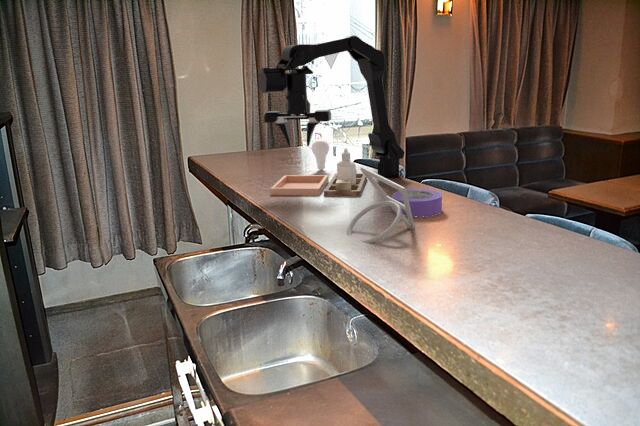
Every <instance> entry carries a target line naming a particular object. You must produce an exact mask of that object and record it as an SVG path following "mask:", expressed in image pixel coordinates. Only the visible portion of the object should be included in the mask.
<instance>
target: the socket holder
mask: <svg viewBox="0 0 640 426" xmlns="http://www.w3.org/2000/svg"><path fill="white" fill-rule="evenodd" d="M367 180H368V178H367V177H366V176H365V175H364V174H363V172H362V173H361V172H357V178H356V185H351V189H352V190H336V181H337V172H336V173H334V174H333V176H332V177H331V180H329V183H328V184H327V186H326V187H325V188H324V190H323V197H361V196H362V192H363V190H364V188H365V186H366V182H367Z"/></svg>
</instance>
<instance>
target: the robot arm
mask: <svg viewBox="0 0 640 426" xmlns="http://www.w3.org/2000/svg"><path fill="white" fill-rule="evenodd" d="M343 52H348V54H349V55H350V57H351V58H352V59H353V60H354V61H355V62H357V65H358V68H359V71H360V72H359V73H360V74H361V75H362V77H363V79H364V80H365V81H366V88H367V95H368V99H369V106H370V113H371V119H372V124H373V126H372V127H373V129H372V131H371V132H369V133H368V134H367V137H368V139H369V140H368V141H369V145H368V146H371V150H372V151H374V153H375V157H379V158H378V159H379V161H377V174H378V175H380V176H382V177H384V178H386V179H400V177H401V174H400V159H401V160H402V159H404V156H405V153H406V152H405V151H404V149H402V147H401V146H400V145H399V144H398V141H397V140H398V139H397V137H396V134H395V132H394V131H393V129H392V127H391V125H390V123H389V116H388V110H387V109H388V108H387V103H386V102H387V101H386V94H385V88H384V83H383V79H384V75H385V71H386V56H385V54H384V52H383V51H382V50H380V49H377V48H375V47H374V46H372V45H370V44H369V43H368V42H365V41H363V40H362V39H361V38H360V37H358V35H347V36H344V37H341V38H337V39H332V40H328V41H322V42H319V43H314V44H313V43H312V44H308V43H307V44H305V43H304V44H303V43H301V44H291V45H286V46H285V47H284V48H283V50H282V53H281V58H280V60H279V61H278V63H276V66H275V67H261V68H260V74H259V79H258V88H259V90H260V92H261V94H271V93H272V94H273V93H283V92H284V91H286V97H285V98H286V103H285V104H286V105H285V108H286V113H284V112H283V113H282V111H281V110H271V111H270V110H268V111H266V112H265V113H264V115H263V123H264V124H265V123H275V126H278V127H279V129H280V131H281V133H283V136H284V138H285V141H286V143H287V144H288V147H291V146H292V140H291V139H292V137H291V131H290V121H291V120H308V121H309V122H307V123H306V146H307V147H309V146H310V145H311V142H312V141H311V140H312V136H313V134H314V131H315V128H316V126H317V125H318V126H319V124H320V123H322V122H330V121H331V120H332V112H331V110H330V109H316V111H314V112H311V102H309V100H308V95H307V94H308V93H307V91H308V90H307V75H312V74H313V75H314V72H313V70H311V68H309V67H308V65H307V64H310V63H311V62H313V61H314V60H316V59H319V58H322V57H327V56H330V55H331V56H332V55H334V54H339V53H343ZM298 67H301V68H298ZM286 71H290V72H286ZM285 89H286V90H285ZM289 120H290V121H289Z"/></svg>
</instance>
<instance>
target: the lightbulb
mask: <svg viewBox="0 0 640 426" xmlns="http://www.w3.org/2000/svg"><path fill="white" fill-rule="evenodd" d="M329 151H330V145H329V143H328V141H327V140H325V139H323V138H318V139H317V138H316V139H315V140H314V141H313V142H312V144H311V152H312V154H313V155H314V157H315V160H316V164H317V169H318V170H319V171H324V169H325V168H326V164H325V163H326V160H327V159H326V158H327V155H328V153H329Z"/></svg>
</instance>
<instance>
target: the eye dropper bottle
mask: <svg viewBox="0 0 640 426" xmlns="http://www.w3.org/2000/svg"><path fill="white" fill-rule="evenodd" d="M356 170H357V166H356V164H355V162H354V161H351V153H350V152H349V151H348V148H344V151H343V152H342V153H341V161H339V162H337V164H336V173H337V180H351V185H356Z"/></svg>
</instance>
